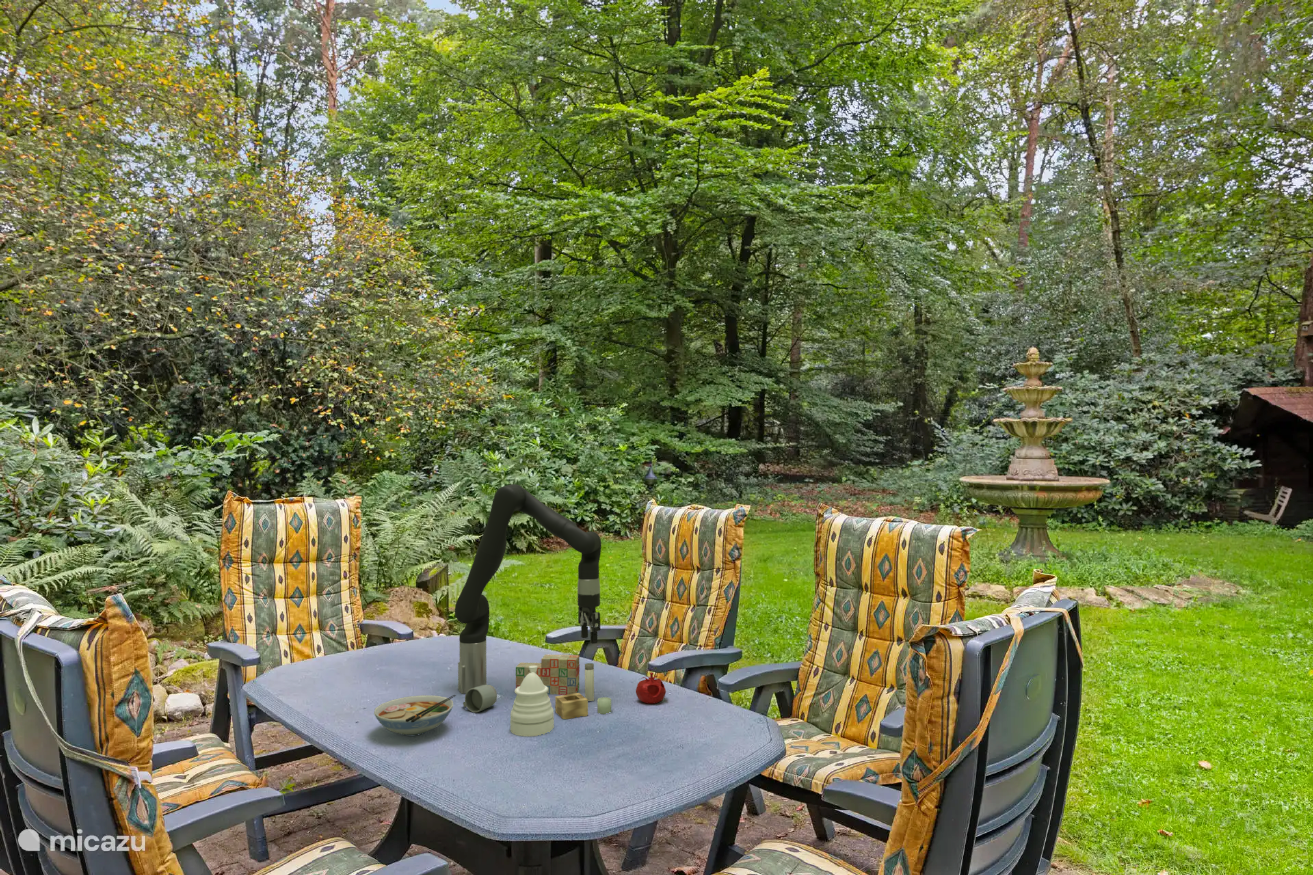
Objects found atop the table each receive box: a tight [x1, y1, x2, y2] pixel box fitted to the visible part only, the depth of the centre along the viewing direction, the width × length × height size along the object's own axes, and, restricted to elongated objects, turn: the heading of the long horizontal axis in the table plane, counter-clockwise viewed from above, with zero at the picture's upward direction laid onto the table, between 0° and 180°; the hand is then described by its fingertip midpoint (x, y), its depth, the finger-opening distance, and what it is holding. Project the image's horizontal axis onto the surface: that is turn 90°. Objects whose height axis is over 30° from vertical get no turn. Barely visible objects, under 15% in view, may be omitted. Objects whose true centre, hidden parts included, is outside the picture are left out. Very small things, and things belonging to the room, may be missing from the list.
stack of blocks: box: [515, 653, 581, 696], centre depth 269 cm, size 21×6×12 cm, turn 84°
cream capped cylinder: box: [584, 662, 595, 702], centre depth 258 cm, size 3×3×12 cm
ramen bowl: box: [373, 694, 457, 736], centre depth 231 cm, size 25×23×8 cm
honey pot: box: [509, 666, 555, 737], centre depth 232 cm, size 13×13×18 cm
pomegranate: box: [635, 672, 667, 705], centre depth 257 cm, size 10×10×9 cm
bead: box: [596, 696, 612, 715], centre depth 247 cm, size 4×4×4 cm
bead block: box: [554, 692, 589, 720], centre depth 245 cm, size 8×8×5 cm
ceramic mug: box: [462, 684, 498, 714], centre depth 252 cm, size 11×8×8 cm
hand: (589, 640), depth 259 cm, fingers open, 8 cm apart
